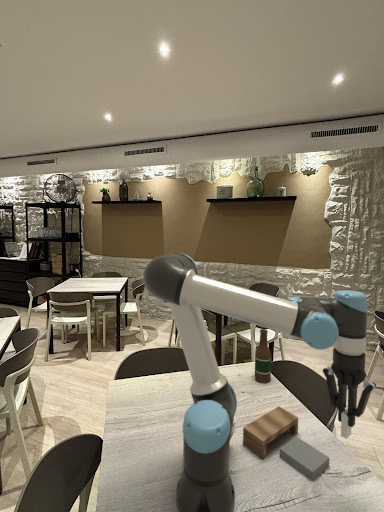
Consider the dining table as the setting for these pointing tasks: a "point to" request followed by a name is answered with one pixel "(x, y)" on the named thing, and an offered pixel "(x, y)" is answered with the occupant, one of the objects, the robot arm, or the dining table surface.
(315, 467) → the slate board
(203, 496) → the robot arm
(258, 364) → the beer bottle
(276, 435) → the walnut arch bridge
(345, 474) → the dining table surface
